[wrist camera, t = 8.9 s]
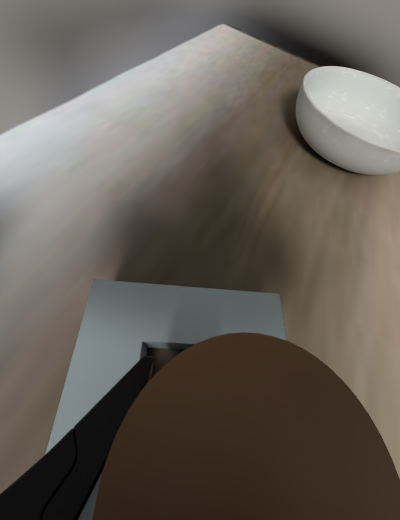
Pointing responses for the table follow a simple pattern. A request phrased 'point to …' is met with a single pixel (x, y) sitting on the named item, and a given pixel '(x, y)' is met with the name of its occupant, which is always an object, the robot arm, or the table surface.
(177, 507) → the walnut peg
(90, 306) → the socket block
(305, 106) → the serving bowl
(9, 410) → the table surface
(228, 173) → the table surface
